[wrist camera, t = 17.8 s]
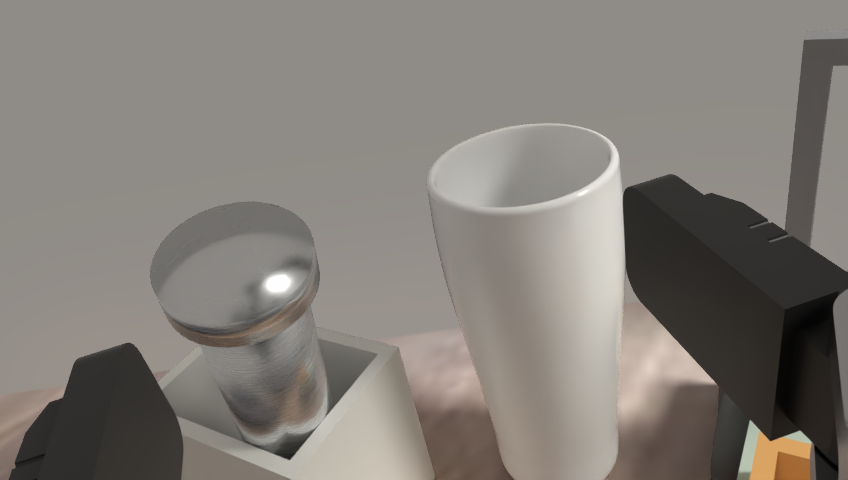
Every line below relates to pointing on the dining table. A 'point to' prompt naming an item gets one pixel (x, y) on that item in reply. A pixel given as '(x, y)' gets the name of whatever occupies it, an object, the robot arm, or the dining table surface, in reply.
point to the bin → (331, 441)
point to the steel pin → (250, 316)
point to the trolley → (735, 433)
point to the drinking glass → (538, 289)
